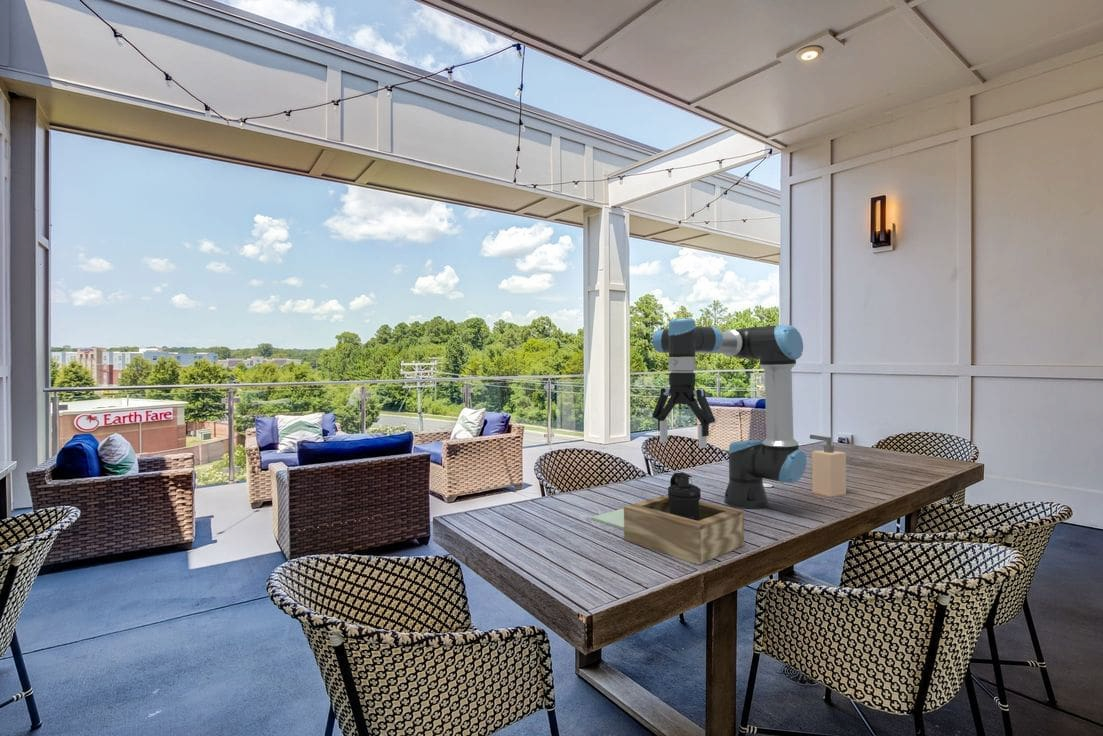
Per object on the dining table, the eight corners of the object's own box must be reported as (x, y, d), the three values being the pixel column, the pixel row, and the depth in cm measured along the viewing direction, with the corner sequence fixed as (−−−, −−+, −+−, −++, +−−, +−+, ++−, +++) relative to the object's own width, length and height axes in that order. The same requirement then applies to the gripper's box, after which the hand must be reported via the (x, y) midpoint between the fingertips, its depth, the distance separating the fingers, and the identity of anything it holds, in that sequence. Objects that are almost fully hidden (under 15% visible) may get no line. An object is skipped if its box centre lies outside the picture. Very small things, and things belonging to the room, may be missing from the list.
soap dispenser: (846, 494, 209) (846, 438, 209) (830, 496, 206) (830, 439, 205) (818, 487, 221) (818, 434, 220) (803, 489, 217) (803, 435, 217)
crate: (670, 524, 174) (669, 493, 173) (743, 545, 154) (743, 510, 154) (624, 539, 159) (623, 506, 159) (698, 564, 140) (698, 526, 139)
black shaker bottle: (678, 550, 150) (677, 479, 150) (660, 538, 161) (659, 471, 160) (707, 547, 152) (706, 477, 152) (687, 535, 163) (686, 469, 163)
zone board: (623, 510, 190) (623, 508, 190) (659, 520, 178) (659, 518, 178) (591, 519, 180) (591, 517, 180) (627, 530, 168) (627, 528, 168)
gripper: (640, 371, 163) (640, 441, 163) (712, 372, 144) (712, 451, 144) (656, 371, 168) (656, 439, 168) (727, 372, 149) (728, 448, 149)
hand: (682, 445), depth 156 cm, fingers open, 13 cm apart
